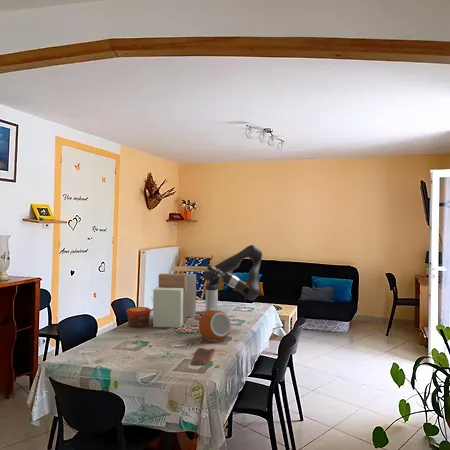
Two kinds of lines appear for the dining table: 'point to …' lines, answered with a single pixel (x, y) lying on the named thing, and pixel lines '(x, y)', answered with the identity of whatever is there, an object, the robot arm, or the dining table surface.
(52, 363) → the dining table surface
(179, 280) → the tall wooden block
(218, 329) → the alarm clock
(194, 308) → the grey tall block
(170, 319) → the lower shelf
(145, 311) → the food container
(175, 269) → the oak strip
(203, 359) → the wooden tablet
